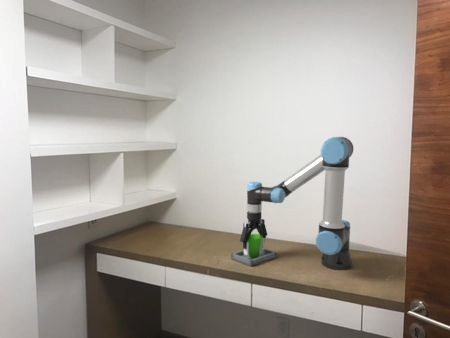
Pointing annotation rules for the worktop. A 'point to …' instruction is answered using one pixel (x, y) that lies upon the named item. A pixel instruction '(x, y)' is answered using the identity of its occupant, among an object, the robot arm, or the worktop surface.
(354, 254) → the worktop surface
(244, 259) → the grey tray
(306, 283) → the worktop surface
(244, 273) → the worktop surface
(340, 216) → the robot arm
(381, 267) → the worktop surface
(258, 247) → the cup
